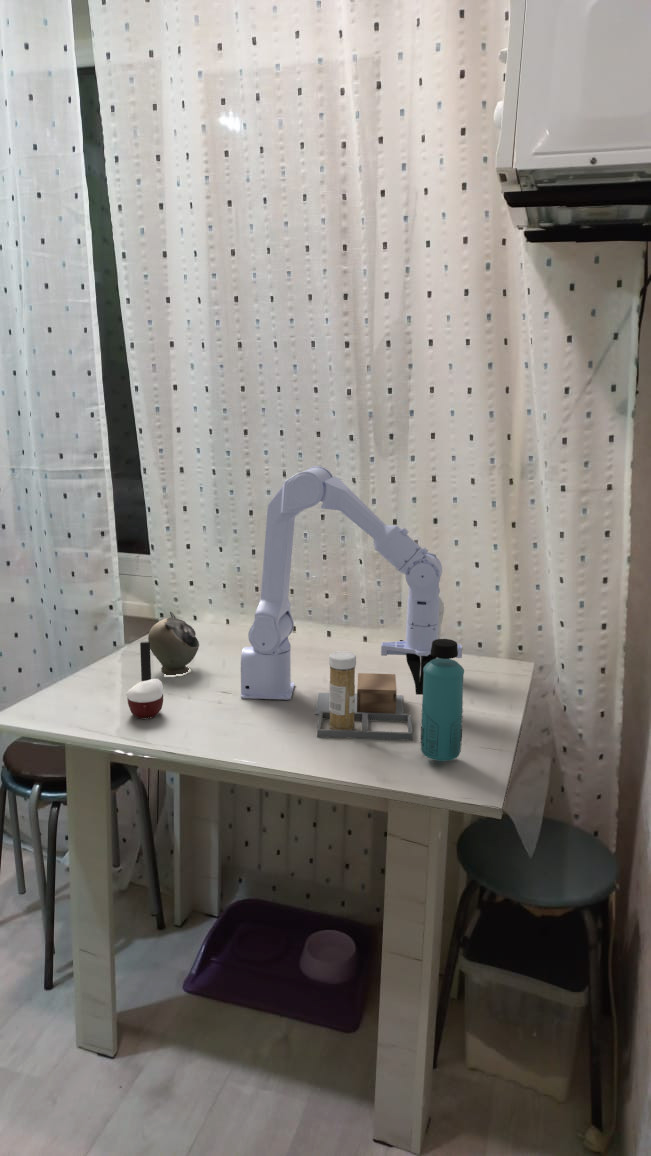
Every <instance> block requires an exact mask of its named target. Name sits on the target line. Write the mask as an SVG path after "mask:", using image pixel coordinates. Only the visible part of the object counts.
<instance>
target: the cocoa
mask: <svg viewBox="0 0 651 1156" xmlns="http://www.w3.org/2000/svg"><path fill="white" fill-rule="evenodd" d="M139 646H140V648H139V650H140V675H141V678H140V679H141V680H140V682H138V683H136V684H134V686H132V687H131V688H130V689H128V690H127V691H126V693H125V695H126V698H127V699H126V700H127V704H128V708H129V711H130V712H131V715H132V716H133V717H136V718H138V719H141V718H148V719H151V718H150V717H152V718H154V717H156V716H157V715H159V713H160V712H161V711H162V709H163V705H164V694H163V693H164V692H163V691H164V688H163V682H162V681H161V680H160V679H159V678H152V668H151V667H152V666H151V665H152V664H151V649H150V642H149V641H148V640H147V641H146V640H145V641H141V642H140V643H139Z"/></svg>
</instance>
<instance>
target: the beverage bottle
mask: <svg viewBox="0 0 651 1156" xmlns="http://www.w3.org/2000/svg"><path fill="white" fill-rule="evenodd" d="M457 644H458V642H457V641H455V640H453V639H449V638H440V639H436V640H434V641H433V642H432V647H431V655H432V656H434V657H436V658H437V659H433V660H431V661H430V662H429V663H427V664H426V665H425V666H424V668H423V671H424V680H423V695H422V698H421V700H422V701H421V713H420V716H421V717H420V720H421V721H420V722H421V723H420V724H421V726H420V734H419V735H420V738H419V739H420V743H419V746H420V750H421V753H422V755H423V756H425V757H426V758H427V759H429V760H430V759H431V760H433V761H439V762H446V761H452V760H453V761H454V760H455V759H457V758H458V757H459V756H460V753H461V751H462V744H463V743H462V741H463V721H464V720H463V719H464V718H463V713H464V711H463V710H464V709H463V706H464V701H463V698H464V697H463V695H464V694H463V693H464V674H465V669H464V667H463V666H462V665H461V664H460V663H459V662H458V661H456V660H455V659H456V657H457V656H458V649H457Z"/></svg>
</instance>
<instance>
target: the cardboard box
mask: <svg viewBox="0 0 651 1156" xmlns="http://www.w3.org/2000/svg"><path fill="white" fill-rule="evenodd" d="M396 678H397V676H396V674H395V673H374V672H373V673H370V672H369V673H367V672H366V673H365V672H358V673H357V686H356V687H357V688H356V694H357V712H373V713H396V695H397V691H398V690H397V679H396Z"/></svg>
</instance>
